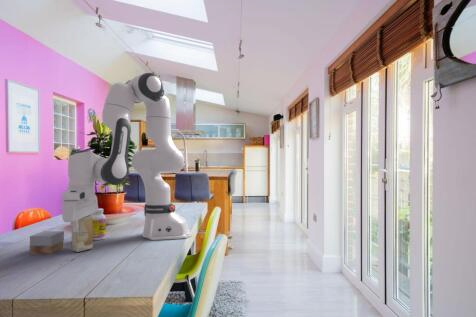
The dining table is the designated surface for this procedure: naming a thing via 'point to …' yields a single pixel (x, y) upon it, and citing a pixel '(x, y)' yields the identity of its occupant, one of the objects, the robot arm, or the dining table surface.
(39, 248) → the tower base
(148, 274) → the dining table surface
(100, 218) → the supplement bottle
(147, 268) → the dining table surface
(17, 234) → the dining table surface
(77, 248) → the skincare box
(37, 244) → the tower top
